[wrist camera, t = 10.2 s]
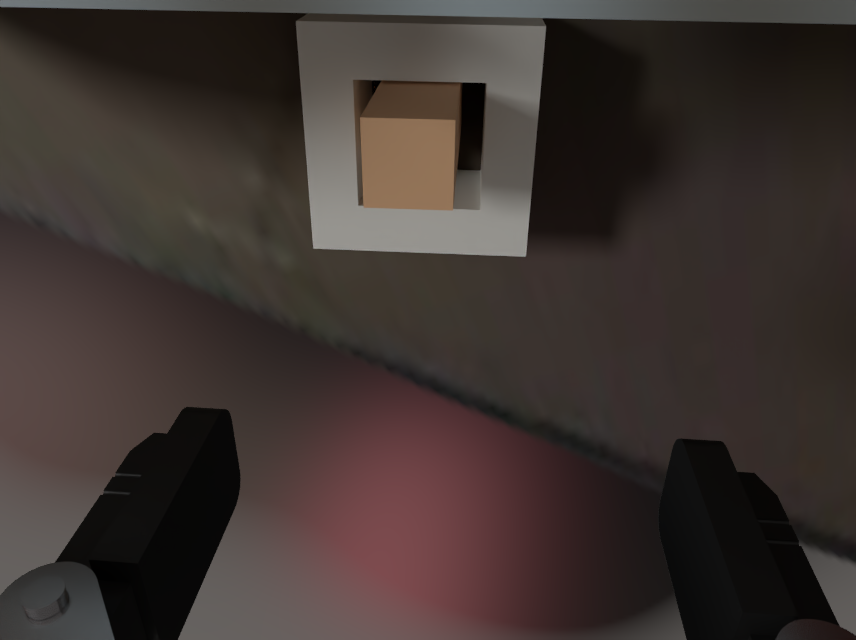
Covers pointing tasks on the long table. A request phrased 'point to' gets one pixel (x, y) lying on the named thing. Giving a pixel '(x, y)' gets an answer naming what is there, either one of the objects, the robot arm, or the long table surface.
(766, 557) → the robot arm
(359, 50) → the socket
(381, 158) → the peg
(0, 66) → the long table surface
